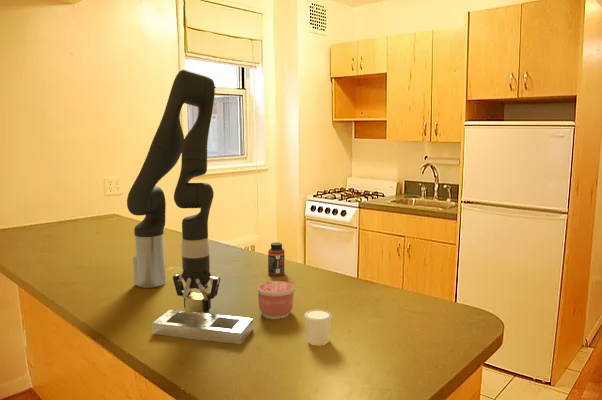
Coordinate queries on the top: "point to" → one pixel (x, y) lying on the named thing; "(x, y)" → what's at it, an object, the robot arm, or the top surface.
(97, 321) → the top surface
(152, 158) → the robot arm
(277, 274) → the supplement bottle
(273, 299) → the container
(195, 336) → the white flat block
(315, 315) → the white cup
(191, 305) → the wooden toy cube
